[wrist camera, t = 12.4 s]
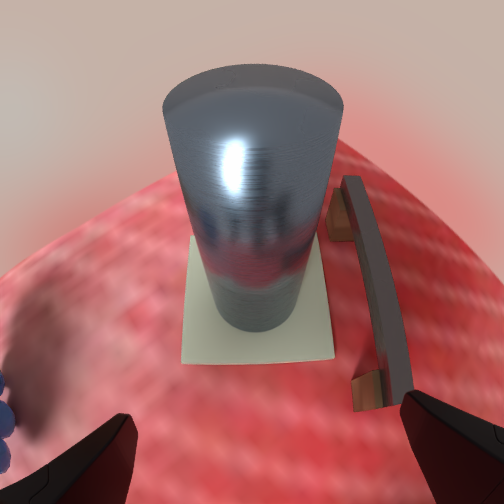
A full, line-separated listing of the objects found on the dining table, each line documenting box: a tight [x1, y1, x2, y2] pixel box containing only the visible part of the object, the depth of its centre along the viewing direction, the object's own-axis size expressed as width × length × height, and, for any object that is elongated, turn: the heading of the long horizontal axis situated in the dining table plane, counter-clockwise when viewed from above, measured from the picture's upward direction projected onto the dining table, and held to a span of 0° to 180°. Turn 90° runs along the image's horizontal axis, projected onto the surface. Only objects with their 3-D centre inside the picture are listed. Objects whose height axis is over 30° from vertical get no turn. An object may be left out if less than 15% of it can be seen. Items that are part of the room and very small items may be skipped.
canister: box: [163, 64, 344, 332], centre depth 13 cm, size 5×5×13 cm
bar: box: [340, 175, 414, 407], centre depth 15 cm, size 14×1×1 cm, turn 2°
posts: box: [325, 188, 383, 412], centre depth 17 cm, size 14×2×4 cm, turn 2°
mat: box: [181, 232, 335, 365], centre depth 19 cm, size 9×9×1 cm
